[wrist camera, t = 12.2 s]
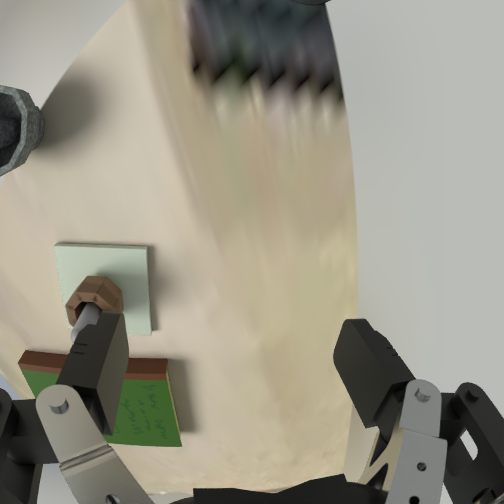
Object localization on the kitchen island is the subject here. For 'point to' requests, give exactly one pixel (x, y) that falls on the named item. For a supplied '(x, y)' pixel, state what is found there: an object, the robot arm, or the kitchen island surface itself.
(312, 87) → the kitchen island surface
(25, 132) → the mortar and pestle
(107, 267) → the post
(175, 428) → the hardcover book
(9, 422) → the robot arm
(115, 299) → the ring
